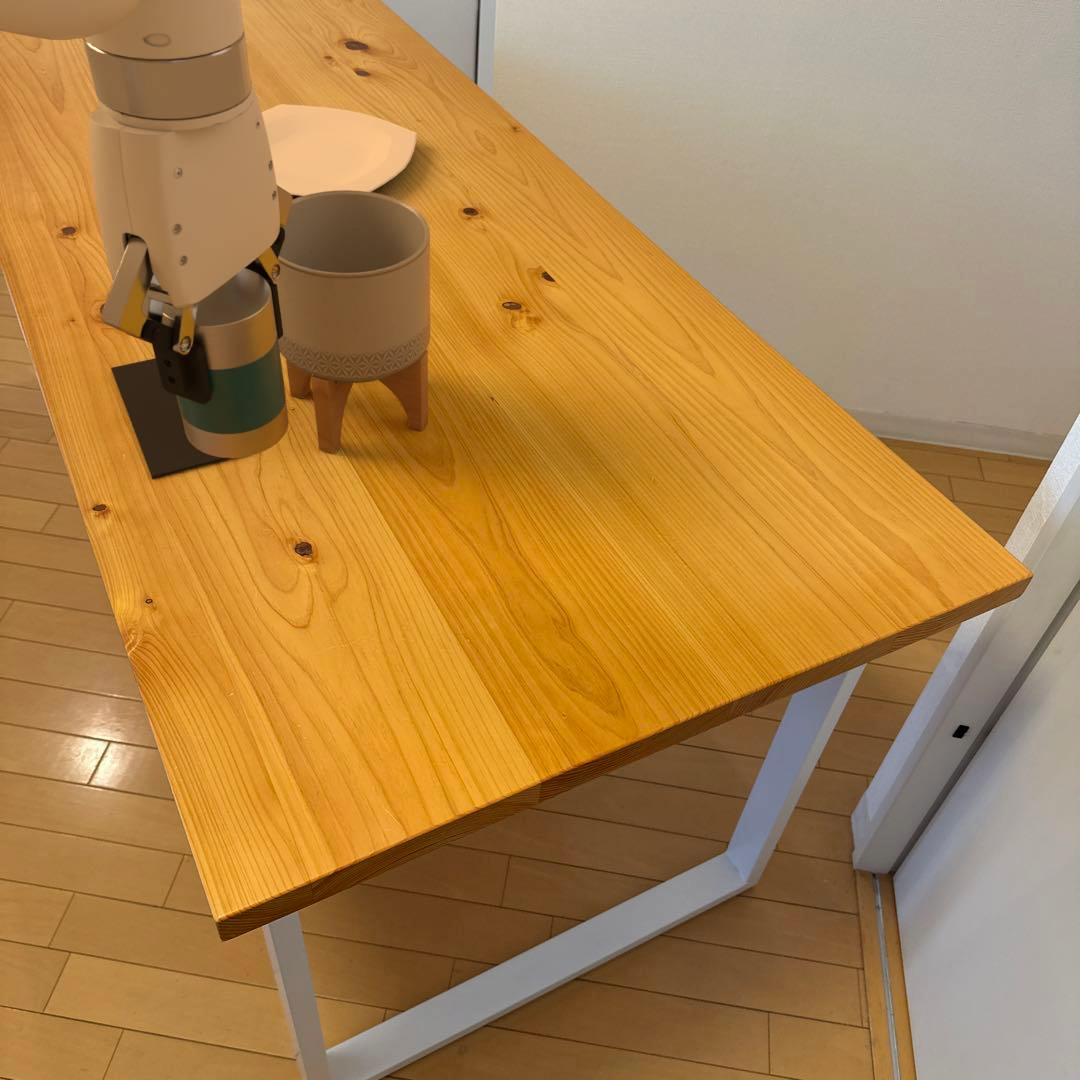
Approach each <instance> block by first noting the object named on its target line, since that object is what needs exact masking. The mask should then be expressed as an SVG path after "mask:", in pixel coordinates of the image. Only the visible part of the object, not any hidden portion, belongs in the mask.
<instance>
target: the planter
mask: <svg viewBox="0 0 1080 1080" xmlns="http://www.w3.org/2000/svg"><path fill="white" fill-rule="evenodd" d="M283 228H284V230H285V240H284V242H283V245H282V248H281V251H280V254H279V257H278V261H279V262H280V264H281V267H282V271H281V275H280V277H279V279H278V280H277V281H273V283H274V284H277V289H278V297H279V304H280V312H281V319H282V327H283V336H282V337H281V338H280V339H279V340H278V342H279V349H280V355H282V356H283V358H284V359H285V364H286V370H287V371H286V373H287V379H288V386H289V394H290V396H291V397H295V398H298V399H304V398H305V397H306V396H307V394H308V393H309V392H310V391H311V389H312V397H313V406H314V416H315V417H314V418H315V426H316V434H317V435H316V436H317V444H318V450H320V451H323V452H327V453H330V454H333V455H334V454H336V452H337V451H338V450H339V448H340V447H341V446H342V439H341V437H342V426H343V425H342V424H343V418H344V412H345V408H346V405H347V401H348V399H349V395H350V392H351V389H352V388H353V385H354V384H361V383H369V382H376V381H378V382H380V383H381V384H382V385H384V386H385V387H386V388H387V389H388V390H389V391H391V393H392V394H393V395H394V396H395V397H396V398H397V400H398V401H399V403H400V404H401V406H402V408H403V410H404V413H405V415H406V418H407V422H408V428H409V429H412V430H415V431H418V432H423V431H424V429H425V427H426V426H427V424H428V423H429V355H428V354H429V351H428V350H427V349H428V347H429V345H430V341H431V231H430V226H429V223H428V222H427V219H426V218H425V216H424V215H423V214H422V213H421V212H420V211H418V210H417V209H416V208H415V207H413V206H412V205H410V204H409V203H407V202H405V201H403V200H400V199H398V198H395V197H393V196H390V195H385V194H382V193H377V192H365V191H354V190H336V191H325V192H319V193H313V194H309V195H305V196H301V197H296V198H293V202H292V206H291V209H290V212H289V216H288V219H287V222H286V225H285V227H284V226H283ZM311 387H312V388H311Z"/></svg>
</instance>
